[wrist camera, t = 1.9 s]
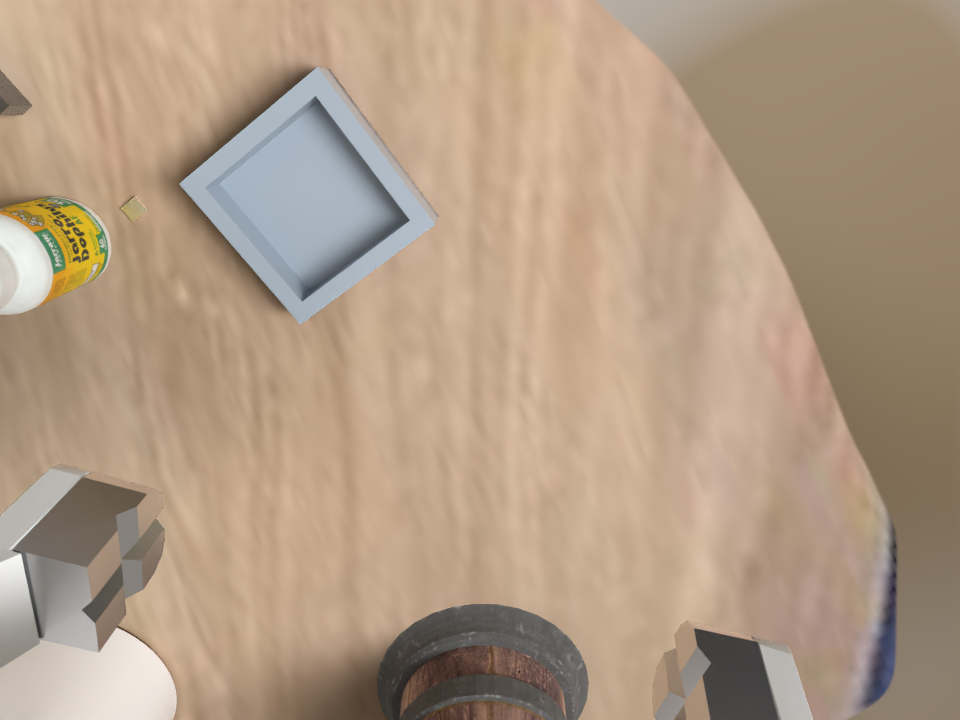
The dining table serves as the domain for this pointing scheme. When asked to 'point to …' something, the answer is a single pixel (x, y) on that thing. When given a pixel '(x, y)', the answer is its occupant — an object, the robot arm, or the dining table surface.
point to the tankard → (482, 668)
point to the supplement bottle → (48, 251)
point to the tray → (310, 196)
